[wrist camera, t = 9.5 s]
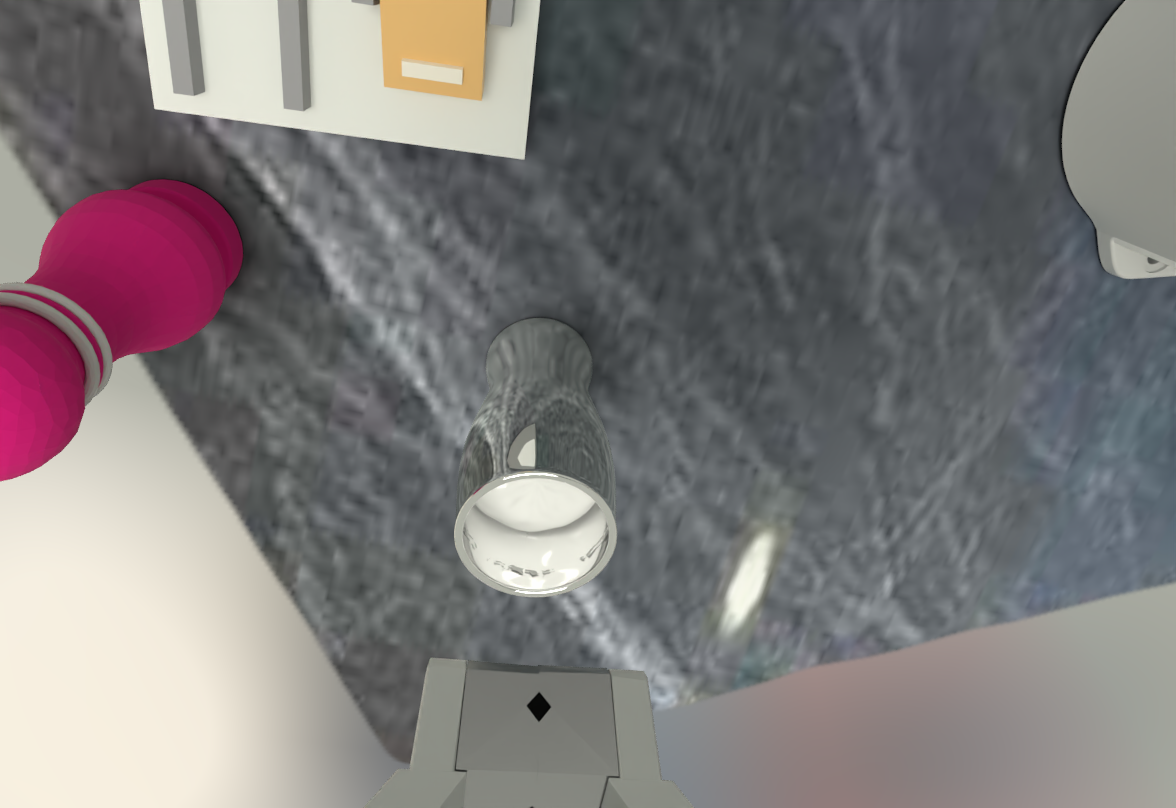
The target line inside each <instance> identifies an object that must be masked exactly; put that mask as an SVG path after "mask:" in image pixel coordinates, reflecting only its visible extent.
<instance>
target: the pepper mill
mask: <svg viewBox="0 0 1176 808" xmlns="http://www.w3.org/2000/svg"><path fill="white" fill-rule="evenodd" d="M242 259H243V246H242V241H241V238H240V235H239V232H238V229H237V227H236V225H235V223H234V221H233V220H232V218H231V217H230V216H229V214H228V213H227V212H226V210H225V209H224V208H223V207H222V206H221V205H220V204H219V203H218V202H217V201H216V200H215V199H213V198H212V197H211V196H210V195H208V194H207V193H205V192H204V191H202V190H200V189H198V188H196V187H194V186H192V185H189V184H186V183H183V182H179V181H174V180H166V179H161V180H150V181H146V182H143V183H140V184H138V185H136V186H134V187H132V188H130V189H128V190H122V189H121V190H110V191H105V192H101V193H97V194H94V195H91V196H89V197H87V198H85V199H83V200H81V201H80V202H78V203H77V204H75V205H74V206H73V207H71V208H70V209H68V210H67V211H66V212H65V213H64V214H63V215H62V216H61V217H60V218H59V219H58V220H57V221H56V223H55V225H54V226H53V228H52V229H51V231H50V233H49V234H48V236H47V238H46V240H45V243H44V245H43V248H42V252H41V256H40V261H39V268H38V270H37V271H36V273H35V274H34V275H33V276H32V277H31V278H29V279H28V280H27V281H26V282H25V283H18V282H17V283H3V284H0V481H4V480H8V479H13V478H16V477H18V476H21V475H24V474H26V473H29V472H31V471H33V470H35V469H37V468H39V467H40V466H42V465H43V464H45V463H46V462H48V461H49V460H50V459H52V458H53V457H54V456H56V455H57V454H58V453H60V452H61V451H62V450H63V449H64V448H65V447H66V446H67V444H69V442H70V441H71V440H72V438H73V437H74V436H75V434H76V433H77V432H78V428H79V425H80V422H81V419H82V416H83V413H84V410H85V406H86V405H87V404H88V403H89V402H90V401H91V400H92V398H93V397H95V396H96V395H97V394H99V393H100V392H101V391H102V390H103V389H104V387H105V386H106V385H107V383H108V381H109V378H110V376H111V372H112V363H113V362H114V361H116V360H117V359H119V358H121V357H124V356H126V355H130V354H136V353H143V352H150V351H157V350H162V349H165V348H168V347H170V346H173V345H175V344H178V343H180V342H182V341H185V340H187V339H189V338H190V337H191V336H193V335H194V334H196V333H197V332H198V331H200V330H201V329H202V328H204V327H205V326H206V325H207V324H208V323H209V322H210V321H211V320H212V319H213V318H214V316H215V315H216V313H217V312H218V310H219V308H220V306H221V304H222V301H223V297H224V293H225V290H226V289H227V288H228V287H229V286H230V285H231V284H232V283H233V282H234V280H235V279H236V278H237V276H238V273H239V271H240V268H241V265H242Z"/></svg>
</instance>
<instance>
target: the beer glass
mask: <svg viewBox="0 0 1176 808" xmlns="http://www.w3.org/2000/svg"><path fill="white" fill-rule="evenodd" d="M592 369H593V367H592V357H591V353H590V350H589V348H588V346H587V344H586V342H585V341H584V339H583V338H582V337H581V336H580V335H579V334H578V333H577V332H576V331H575V330H574V329H572V328H571V327H570V326H568V325H566V324H564V323H562V322H559V321H557V320H553V319H548V318H530V319H525V320H521V321H518V322H516V323H514V324H512V325H510V326H508V327H507V328H505V329H504V330H503V331H502V332H500V333H499V334H498V336H497V337H496V338H495V339H494V341H493V342H492V344H491V346H490V348H489V350H488V354H487V358H486V375H487V380H488V384H489V388H490V389H489V392H488V394H487V396H486V398H485V400H484V402H483V404H482V406H481V408H480V409H479V411H478V413H477V415H476V417H475V419H474V421H473V424H472V426H471V429H470V431H469V434H468V436H467V439H466V441H465V445H464V449H463V453H462V458H461V462H460V467H459V476H458V484H457V499H456V523H455V528H454V540H455V546H456V549H457V552H458V555H459V557H460V559H461V560H462V562H463V564H464V565H465V566H466V568H467V569H468V570H469V571H470V572H471V573H472V574H473V575H474V576H475V577H476V578H478V579H479V580H480V581H482V582H483V583H485V584H486V585H488V586H490V587H492V588H494V589H496V590H499V591H502V592H505V593H508V594H512V595H517V596H523V597H547V596H554V595H559V594H563V593H566V592H569V591H572V590H574V589H576V588H579V587H581V586H582V585H584V584H586V583H588V582H589V581H590V580H592V579H593V578H594V577H596V576H597V575H598V574H599V573H600V572H601V571H602V570H603V569H604V568H605V566H606V565H607V564H608V562H609V560H610V559H611V557H612V555H613V552H614V550H615V546H616V542H617V525H616V482H615V470H614V463H613V458H612V453H611V448H610V444H609V440H608V438H607V435H606V432H605V429H604V426H603V424H602V421H601V419H600V417H599V415H598V413H597V410H596V408H595V406H594V404H593V402H592V400H591V398H590V395H589V393H588V388H589V384H590V381H591V377H592Z"/></svg>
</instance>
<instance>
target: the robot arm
mask: <svg viewBox="0 0 1176 808" xmlns="http://www.w3.org/2000/svg"><path fill="white" fill-rule="evenodd" d="M1062 156H1063V164H1064V170H1065V173H1066V177H1067V180H1068V183H1069V186H1070V188H1071V190H1072V192H1073V194H1074V196H1075V198H1076V199H1077V201H1078V203H1079V204H1080V205H1081V206H1082V208H1083V209H1084V210H1085V212H1086V213H1087V214H1088V216H1089V217H1090V218H1091V220H1092V221H1093V223H1094V225H1095V227H1096V229H1097V240H1098V249H1099V255H1100V260H1101V264H1102V266H1103V268H1104V269H1105V271H1107V272H1108V273H1110V274H1113V275H1115V276H1118V277H1121V278H1124V279H1139V278H1153V277H1168V276H1176V0H1125V1H1124V2H1123V4H1122V5H1121V6H1120V7H1119V8H1118V10H1117V11H1116V12H1115V13H1114V14H1113V16H1112V17H1111V18H1110V20H1109V21H1108V22H1107V24H1106V25H1105V26H1104V28H1103V29H1102V31H1101V32H1100V34H1099V35H1098V37H1097V38H1096V40H1095V42H1094V43H1093V45H1092V47H1091V48H1090V50H1089V52H1088V54H1087V56H1086V58H1085V59H1084V61H1083V64H1082V66H1081V68H1080V70H1079V72H1078V74H1077V77H1076V79H1075V82H1074V84H1073V87H1072V90H1071V93H1070V96H1069V100H1068V104H1067V107H1066V112H1065V117H1064V124H1063V132H1062ZM1148 257H1149V258H1148ZM1147 258H1148V259H1147ZM466 668H467V671H466ZM364 808H694V807H693V806H692V804H691V803H690V802H689V801H688V799H687V798H686V797H685V796H684V794H683V793H682V792H681V790H680V789H679V788H678V787H677V785H676V784H675V783H674V782H673V781H669V780H662V775H661V769H660V762H659V755H658V748H657V741H656V734H655V727H654V720H653V713H652V706H651V699H650V692H649V685H648V679H647V676H646V674H645V673H644V671H634V670H617V669H609V670H607V668H593V667H571V666H549V665H538V666H529V665H517V664H505V663H494V662H482V661H471V660H468V663H467V660H455V659H441V658H430V660H429V663H428V666H427V669H426V675H425V681H424V687H423V693H422V699H421V704H420V710H419V716H418V722H417V728H416V734H415V739H414V745H413V751H412V757H411V763H410V768H409V769H397V771H396V772H395V773H394V774H393V775H392V776H391V778H389V780H388V781H387V782H386V783H385V784H384V785H383V787H382V788H381V789H380V790H379V791H378V792H377V793H376V794H375V795H374V796H373V798H372V799H371V800H370V801H369V802H368V803H367V804H366V806H365V807H364Z"/></svg>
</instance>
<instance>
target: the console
mask: <svg viewBox="0 0 1176 808" xmlns="http://www.w3.org/2000/svg"><path fill="white" fill-rule="evenodd" d="M139 1H140V8H141V15H142V22H143V29H144V37H145V44H146V51H147V58H148V65H149V73H150V80H151V87H152V94H153V101H154V109H159V110H166V111H173V112H181V113H188V114H195V115H202V116H210V117H217V118H224V119H232V120H239V121H246V122H253V123H261V124H268V125H275V126H283V127H290V128H297V129H304V130H312V131H319V132H326V133H334V134H341V135H348V136H355V137H363V138H370V139H377V140H385V141H392V142H399V143H406V144H414V145H421V146H428V147H436V148H443V149H450V150H458V151H465V152H472V153H479V154H487V155H494V156H501V157H509V158H516V159H523V160H524V158H525V150H526V140H527V130H528V120H529V110H530V100H531V90H532V80H533V70H534V60H535V50H536V39H537V29H538V19H539V9H540V0H489V3H488V23H487V42H486V62H485V82H484V91H483V96H482V101H478V100H472V99H465V98H458V97H451V96H444V95H437V94H430V93H423V92H417V91H410V90H403V89H396V88H389V87H384V77H383V57H382V36H381V16H380V0H139Z"/></svg>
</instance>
